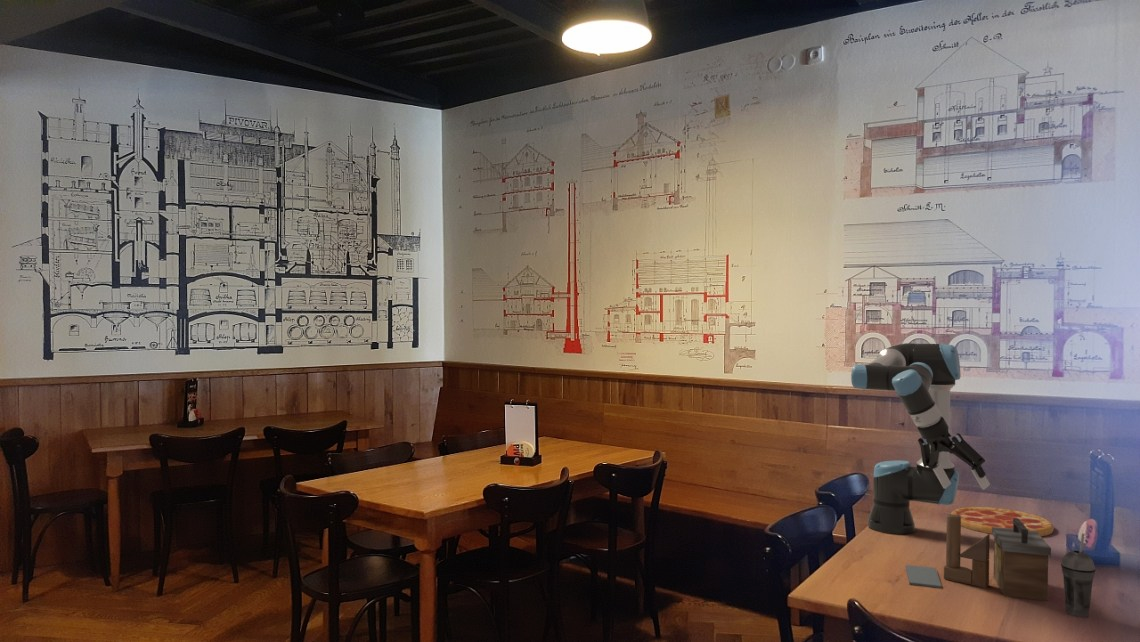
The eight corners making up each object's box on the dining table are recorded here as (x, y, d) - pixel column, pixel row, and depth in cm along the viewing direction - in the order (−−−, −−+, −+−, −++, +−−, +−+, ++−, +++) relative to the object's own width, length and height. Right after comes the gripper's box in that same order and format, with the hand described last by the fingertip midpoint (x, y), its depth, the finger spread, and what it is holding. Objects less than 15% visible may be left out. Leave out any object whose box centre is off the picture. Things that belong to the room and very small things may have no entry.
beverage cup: (1053, 608, 195) (1054, 529, 195) (1080, 607, 196) (1081, 529, 195) (1074, 619, 188) (1075, 538, 187) (1102, 618, 188) (1103, 537, 188)
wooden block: (985, 588, 209) (986, 522, 209) (943, 579, 216) (944, 515, 216) (989, 585, 211) (990, 520, 211) (947, 576, 218) (948, 513, 218)
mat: (905, 566, 226) (905, 564, 226) (935, 570, 224) (935, 567, 224) (909, 584, 211) (909, 582, 211) (941, 588, 208) (941, 586, 208)
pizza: (1074, 539, 257) (1074, 530, 257) (978, 538, 258) (978, 529, 258) (1020, 514, 289) (1020, 506, 289) (934, 513, 290) (934, 505, 290)
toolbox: (991, 575, 219) (992, 514, 219) (1035, 580, 215) (1036, 518, 215) (1002, 596, 203) (1003, 529, 203) (1050, 601, 199) (1051, 534, 199)
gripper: (889, 430, 228) (924, 492, 228) (956, 426, 204) (995, 495, 205) (905, 417, 230) (940, 478, 231) (973, 411, 207) (1011, 479, 207)
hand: (966, 486), depth 218 cm, fingers open, 13 cm apart
